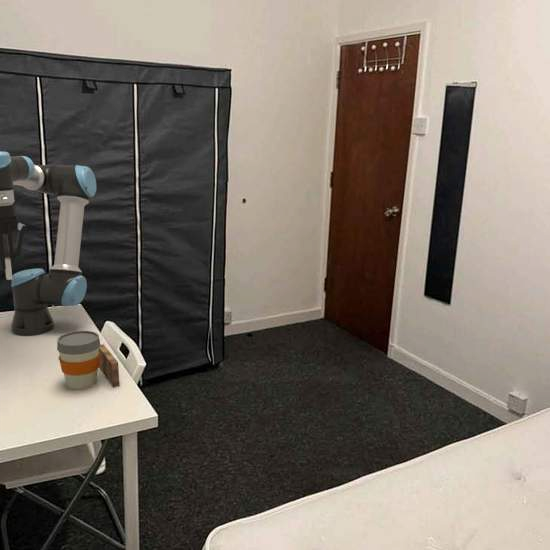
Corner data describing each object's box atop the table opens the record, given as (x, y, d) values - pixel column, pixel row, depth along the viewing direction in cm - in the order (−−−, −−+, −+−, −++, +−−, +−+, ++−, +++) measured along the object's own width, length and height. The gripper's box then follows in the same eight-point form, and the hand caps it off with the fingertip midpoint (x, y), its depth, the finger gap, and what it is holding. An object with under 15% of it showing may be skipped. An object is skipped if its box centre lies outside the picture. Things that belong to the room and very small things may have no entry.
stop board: (98, 367, 182) (97, 345, 180) (104, 366, 183) (103, 344, 181) (113, 387, 169) (111, 363, 167) (119, 385, 170) (118, 362, 168)
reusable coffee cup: (58, 393, 164) (53, 347, 160) (62, 375, 176) (58, 331, 172) (101, 389, 167) (98, 344, 163) (103, 372, 179) (100, 329, 175)
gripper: (-22, 206, 160) (-13, 284, 166) (26, 204, 166) (33, 279, 173) (-25, 203, 166) (-16, 278, 172) (22, 201, 172) (29, 273, 179)
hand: (9, 278), depth 172 cm, fingers closed
